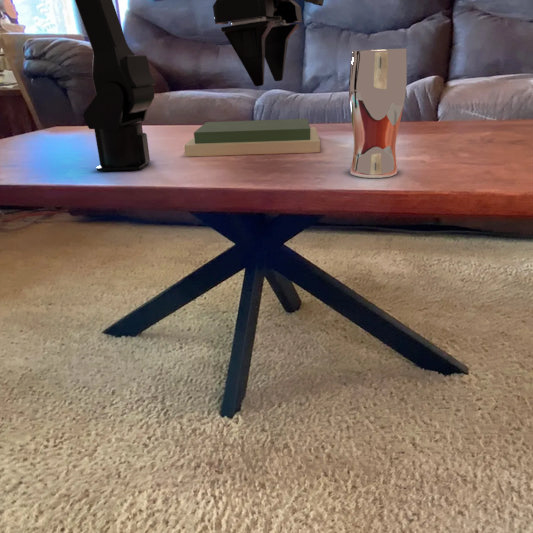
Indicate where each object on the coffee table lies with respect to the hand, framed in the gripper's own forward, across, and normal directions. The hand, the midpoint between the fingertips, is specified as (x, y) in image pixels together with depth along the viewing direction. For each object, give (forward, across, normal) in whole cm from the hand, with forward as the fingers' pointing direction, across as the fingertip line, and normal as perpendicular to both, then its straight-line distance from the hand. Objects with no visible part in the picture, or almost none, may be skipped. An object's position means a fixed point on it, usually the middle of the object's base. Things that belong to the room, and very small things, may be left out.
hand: (269, 83), depth 68 cm
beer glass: (+13, -1, -13) cm, 18 cm away
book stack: (+11, +18, +9) cm, 23 cm away
